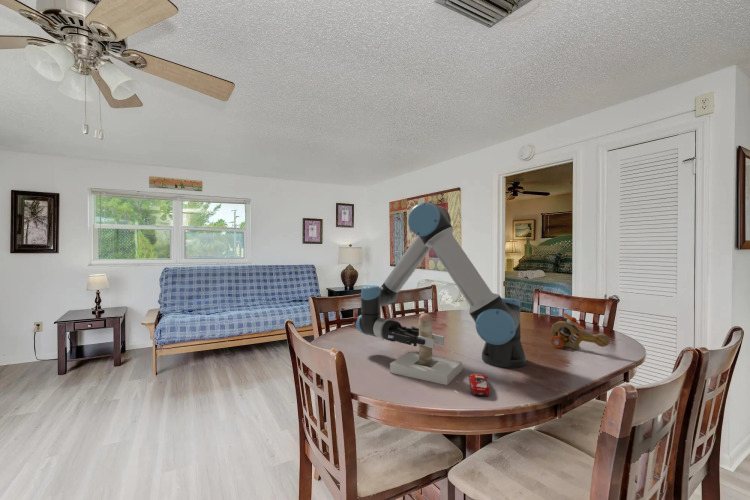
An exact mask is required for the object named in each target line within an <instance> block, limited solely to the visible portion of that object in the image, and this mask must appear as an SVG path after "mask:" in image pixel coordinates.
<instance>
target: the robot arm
mask: <svg viewBox="0 0 750 500" xmlns="http://www.w3.org/2000/svg"><path fill="white" fill-rule="evenodd" d="M451 221H452V218H451V215H450V213H449V211H448V210H447V209H446V208H444V207H443V206H439V205H436V204H434V203H432V202H421V203H418V204H416V205H415V206H414V207H412V209H411V210H410V212H409V214H408V217H407V225H408V227H409V230H410V231H411V232H412V234H414V235H415V236H416V237H414V240H413V241H412V242H411V244H410V245H409V247H407V249H406V251H405V252H404V254H403V255H402V256H401V258H400V259H399V260H398V262H397V263H396V265H395V266H394V267H393V269H392V270H391V272H389V274H388V276H387V277H386V279H384V282H383V283H382V285H381V286H379V285H375V284H374V285H371V284H370V285H364V286H361V289H360V290H361V291H360V292H361V295H360V298H361V299H360V301H361V302H360V304H361V305H360V308H361V314H360V315H358V317H357V319H356V322H355V328H356V329H357V331H358V332H360V333H361V334H364V335H367V336H372V337H375V338H379V339H381V340H382V341H384V340H386V341H388V342H393V343H394V342H398V343H400V344H405V345H409V346H411V345H413V347H418V346H419V345H422V346H426V347H430V348H432V349H435V348H436V347H435V344H437V345H441V346H444V345H445V336H443V335H439V334H434V333H432V339H430V338H426V337H422V336H419V327H415V326H410V327H407V326H402V324H401V323H400V322H399V321H396V320H392V319H389V318H383V317H381V308H382V307H384V306H387V305H391V304H392V303H393V304H394V302H396V300H397V299H398V295H399V294H398V293H400V291H401V290H402V288H403V287H404V285H406V283H407V281H408V280H409V279H410V277H411V276H412V275H413V273H414V272H415V271H416V270H417V268H418V267H419V266H420V264H421V263H422V261H423V260H424V259H425V257H427V255H428V253H429V252H430V251H431V250H433V252H434V254H435V255H436V257H437V258H438V259H439V261H440V263H441V264H442V265H443V267H444V268H445V270H446V272H447V273H448V274H449V277H450V278H451V279H452V281H453V283H454V284H455V285H456V287H457V289H458V290H459V292H460V293H461V295H462V296H463V297H464V299H465V301H466V302H467V304H468V305H469V311H468V314H469V316H470V317H471V318H472V319H473V321H474V323H475V325H474V326H475V330H476V333H477V335H478V336H479V337H480V339H481V340H483V341H484V342H485V343H484V345H483V349H482V351H481V359H482V362H484V363H486V364H488V365H491V366H494V367H499V368H506V369H507V368H509V369H510V368H512V369H513V368H514V369H515V368H520V367H524V366H525V365H527V355H526V353H525V350H524V348H523V344H522V341H521V334H522V333H521V310H522V309H521V308H522V306H521V301H520V299H518V298H511V297H510V298H509V297H501V296H500V294H498V293H494V292H493V291H492V290H491V288H490V287H489V286H488V284H487V283H486V282H485V280H484V279H483V277H482V275H480V273H479V271H478V270H477V269H476V267H475V266H474V264H473V262H472V261H471V259H470V258H469V257H468V255H467V253H466V252H465V251H464V250H463V248H462V246H461V245H460V243H459V242H458V241H457V239H456V237H455V236H454V234H453V232H454V227H453V225H452V222H451Z"/></svg>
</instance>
